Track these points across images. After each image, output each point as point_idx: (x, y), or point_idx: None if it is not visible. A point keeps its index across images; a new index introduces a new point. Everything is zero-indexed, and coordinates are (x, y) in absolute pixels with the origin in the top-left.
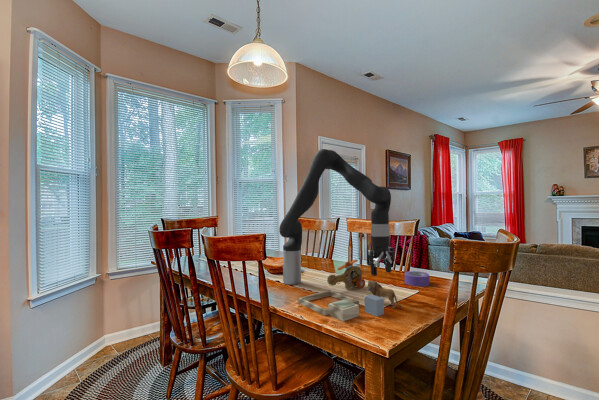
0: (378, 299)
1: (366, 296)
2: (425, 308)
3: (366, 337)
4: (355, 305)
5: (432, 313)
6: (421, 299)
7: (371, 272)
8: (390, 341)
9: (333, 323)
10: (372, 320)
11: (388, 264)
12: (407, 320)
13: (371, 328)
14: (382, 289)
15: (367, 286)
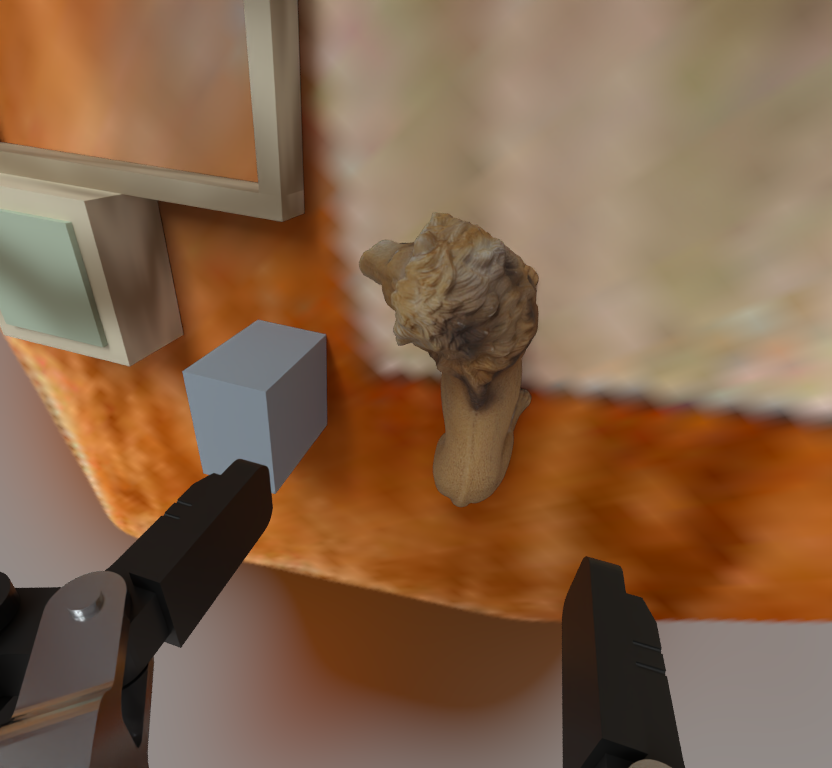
0: None
1: (193, 386)
2: None
3: (98, 464)
4: (108, 350)
5: (536, 600)
6: (821, 522)
7: (187, 496)
8: None
9: None
10: None
11: (571, 759)
12: (353, 532)
13: (156, 448)
14: (453, 408)
15: (362, 266)
